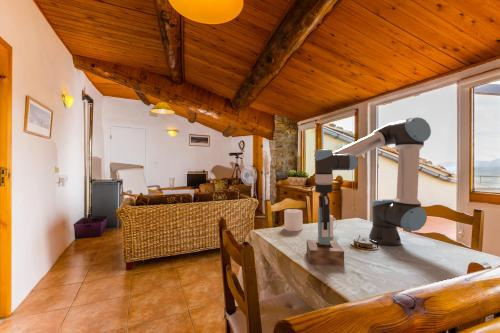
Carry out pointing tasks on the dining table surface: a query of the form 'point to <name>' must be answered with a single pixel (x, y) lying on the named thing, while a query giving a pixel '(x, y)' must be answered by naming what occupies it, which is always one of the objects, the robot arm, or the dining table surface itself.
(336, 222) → the mug
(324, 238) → the peg
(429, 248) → the dining table surface
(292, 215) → the cup
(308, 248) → the socket
